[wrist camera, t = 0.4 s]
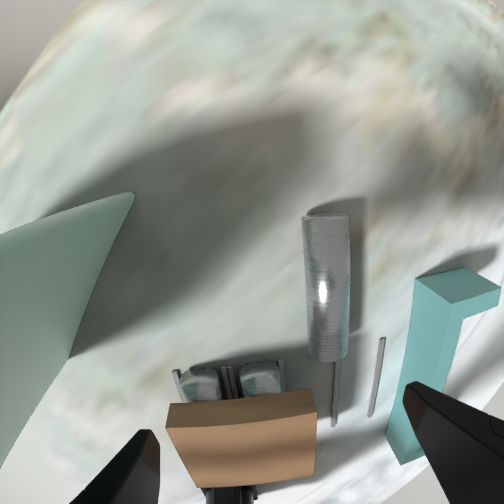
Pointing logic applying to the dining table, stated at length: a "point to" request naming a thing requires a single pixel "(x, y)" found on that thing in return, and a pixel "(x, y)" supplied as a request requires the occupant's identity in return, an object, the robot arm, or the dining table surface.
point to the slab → (246, 438)
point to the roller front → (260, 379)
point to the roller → (327, 284)
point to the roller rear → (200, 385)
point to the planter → (47, 300)
